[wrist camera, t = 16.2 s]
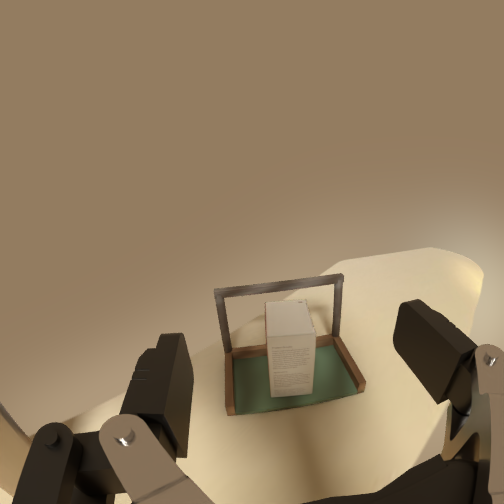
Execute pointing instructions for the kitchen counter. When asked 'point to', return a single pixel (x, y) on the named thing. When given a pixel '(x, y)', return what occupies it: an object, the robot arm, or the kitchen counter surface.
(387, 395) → the kitchen counter surface
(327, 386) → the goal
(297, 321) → the small box
